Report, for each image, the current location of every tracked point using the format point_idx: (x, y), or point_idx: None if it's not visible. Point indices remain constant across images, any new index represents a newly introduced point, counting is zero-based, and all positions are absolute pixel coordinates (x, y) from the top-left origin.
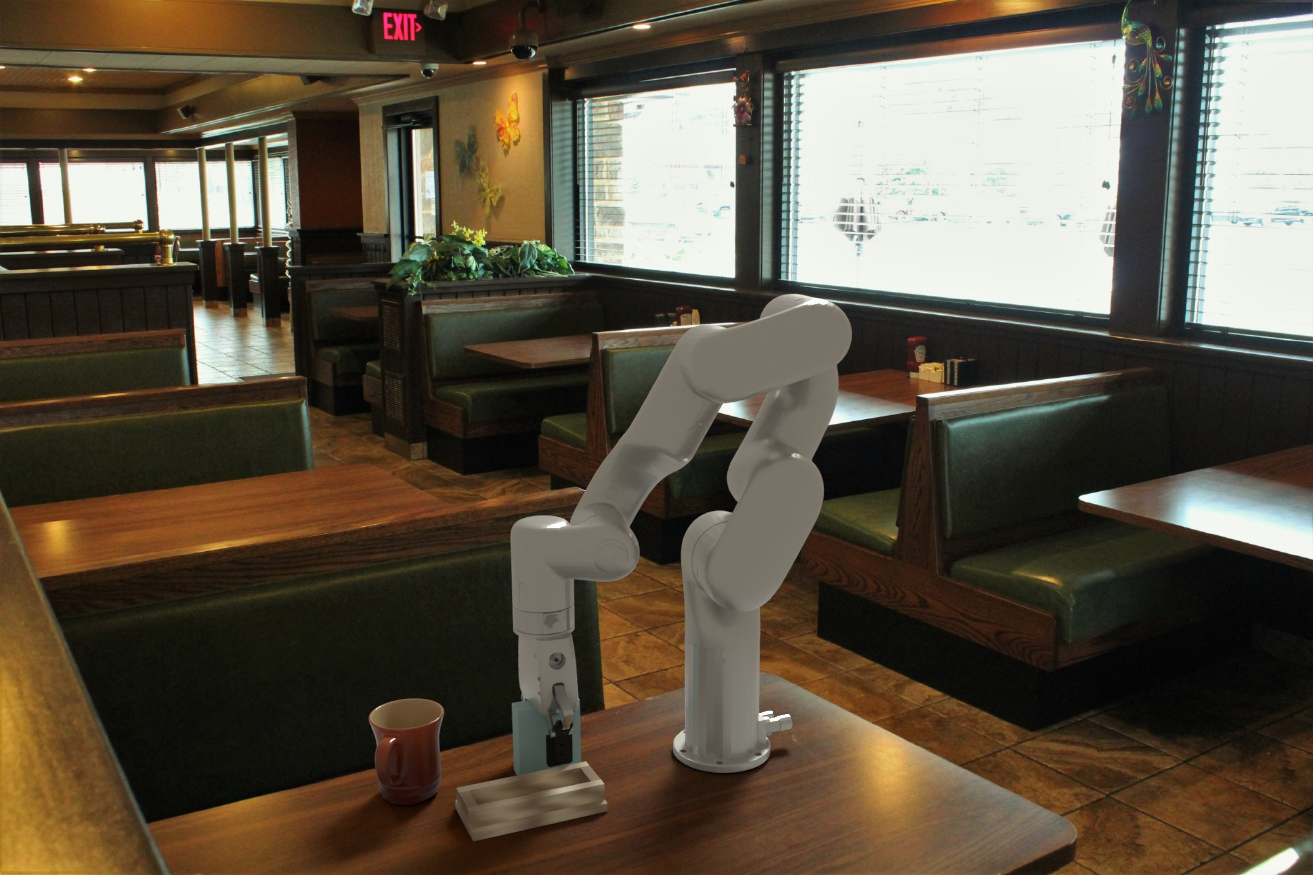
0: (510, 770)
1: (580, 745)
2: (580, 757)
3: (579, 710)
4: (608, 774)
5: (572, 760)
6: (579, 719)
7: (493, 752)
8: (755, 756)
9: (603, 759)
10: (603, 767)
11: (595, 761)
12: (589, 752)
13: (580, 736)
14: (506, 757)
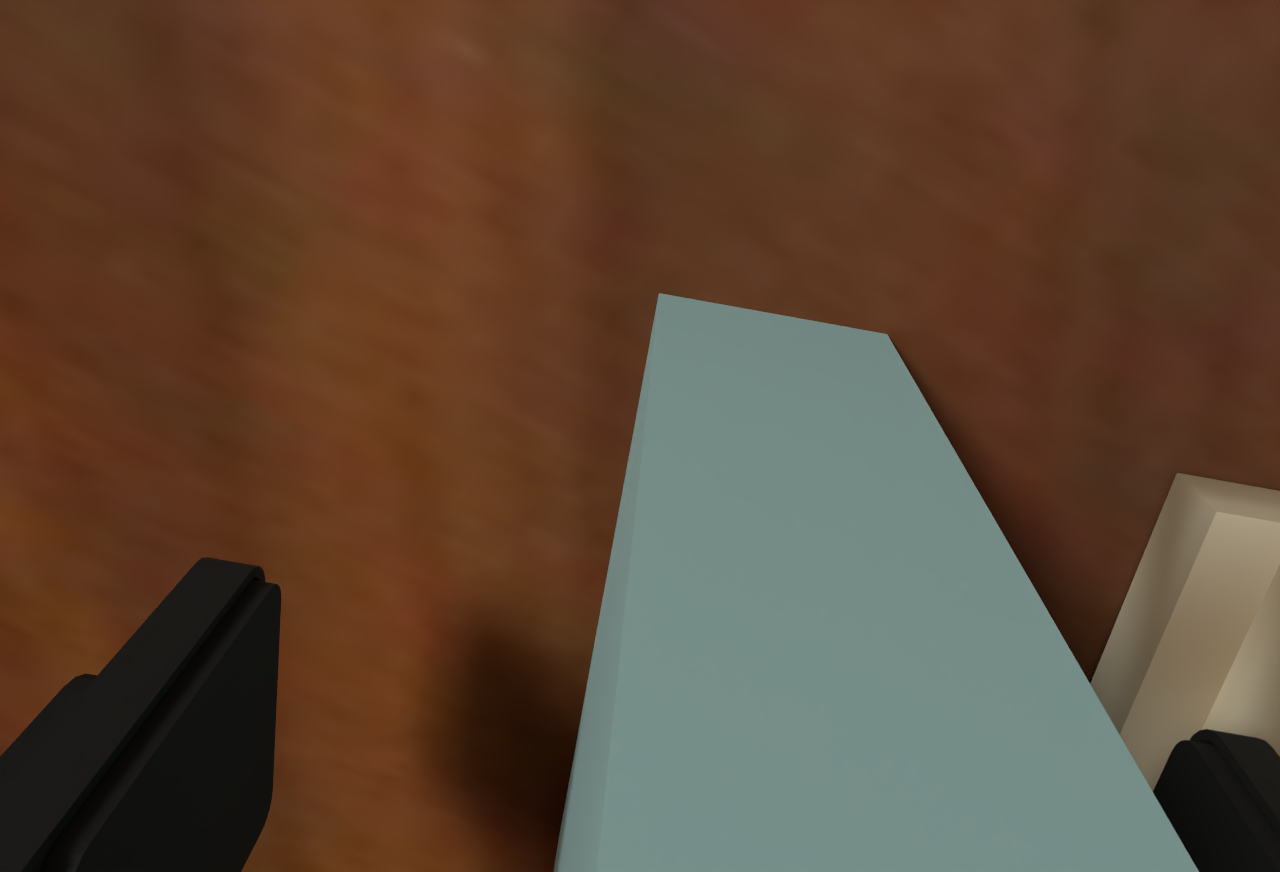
0: (545, 857)
1: (943, 435)
2: (905, 375)
3: (1168, 838)
4: (1261, 173)
5: (1265, 742)
6: (1080, 686)
7: None
8: None
9: (907, 12)
10: (1079, 129)
11: (887, 128)
12: (638, 63)
13: (977, 491)
14: (295, 785)
